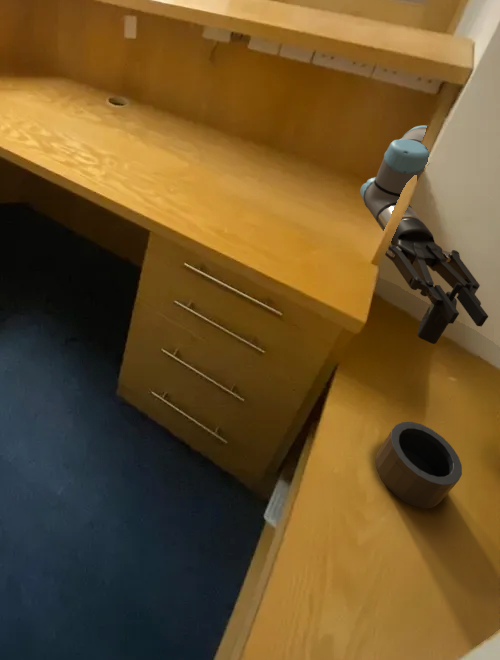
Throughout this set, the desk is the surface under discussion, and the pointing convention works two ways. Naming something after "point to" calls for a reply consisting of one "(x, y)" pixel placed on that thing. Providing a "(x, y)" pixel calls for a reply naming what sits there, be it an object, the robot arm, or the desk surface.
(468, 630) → the desk surface
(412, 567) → the desk surface
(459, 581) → the desk surface
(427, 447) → the gray ring cup
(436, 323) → the walkie-talkie
